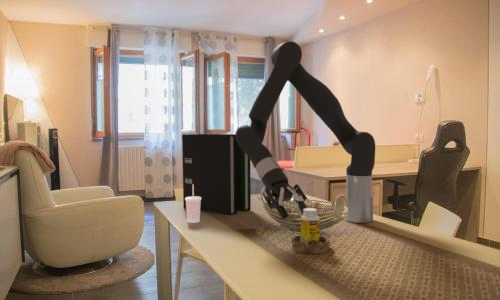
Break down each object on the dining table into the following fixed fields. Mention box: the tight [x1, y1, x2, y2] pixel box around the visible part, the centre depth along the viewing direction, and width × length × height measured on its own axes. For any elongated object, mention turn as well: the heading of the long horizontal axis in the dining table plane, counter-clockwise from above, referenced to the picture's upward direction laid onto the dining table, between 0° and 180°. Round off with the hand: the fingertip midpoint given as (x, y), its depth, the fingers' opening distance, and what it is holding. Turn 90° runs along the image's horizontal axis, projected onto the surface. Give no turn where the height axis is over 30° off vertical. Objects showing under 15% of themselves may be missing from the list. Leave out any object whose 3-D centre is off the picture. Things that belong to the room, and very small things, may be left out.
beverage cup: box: [185, 184, 201, 224], centre depth 146 cm, size 6×6×14 cm
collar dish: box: [291, 233, 330, 255], centre depth 114 cm, size 11×11×3 cm
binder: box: [181, 133, 252, 217], centre depth 167 cm, size 27×15×32 cm, turn 51°
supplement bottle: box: [300, 207, 321, 244], centre depth 114 cm, size 6×6×10 cm
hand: (296, 215), depth 118 cm, fingers open, 8 cm apart
